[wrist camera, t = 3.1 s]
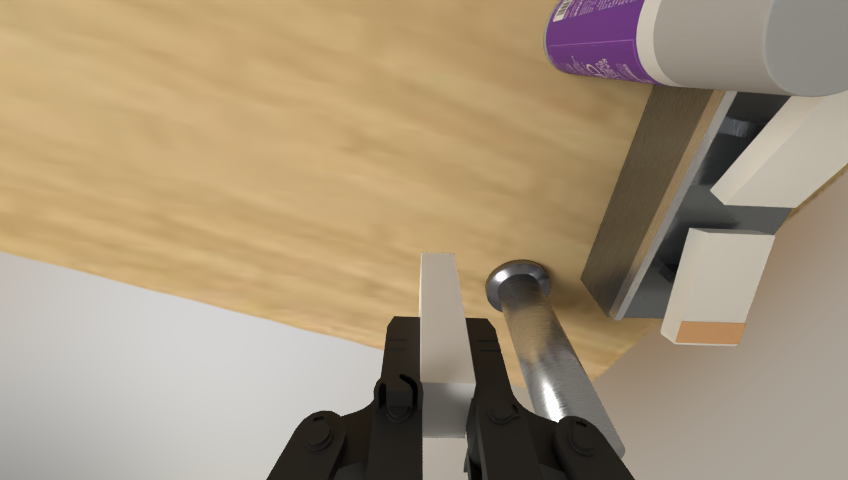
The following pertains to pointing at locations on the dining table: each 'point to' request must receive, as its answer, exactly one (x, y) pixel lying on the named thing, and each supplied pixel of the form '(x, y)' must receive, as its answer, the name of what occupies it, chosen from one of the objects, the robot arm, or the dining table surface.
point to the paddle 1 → (715, 286)
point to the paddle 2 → (790, 154)
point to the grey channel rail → (674, 194)
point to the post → (545, 348)
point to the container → (705, 43)
